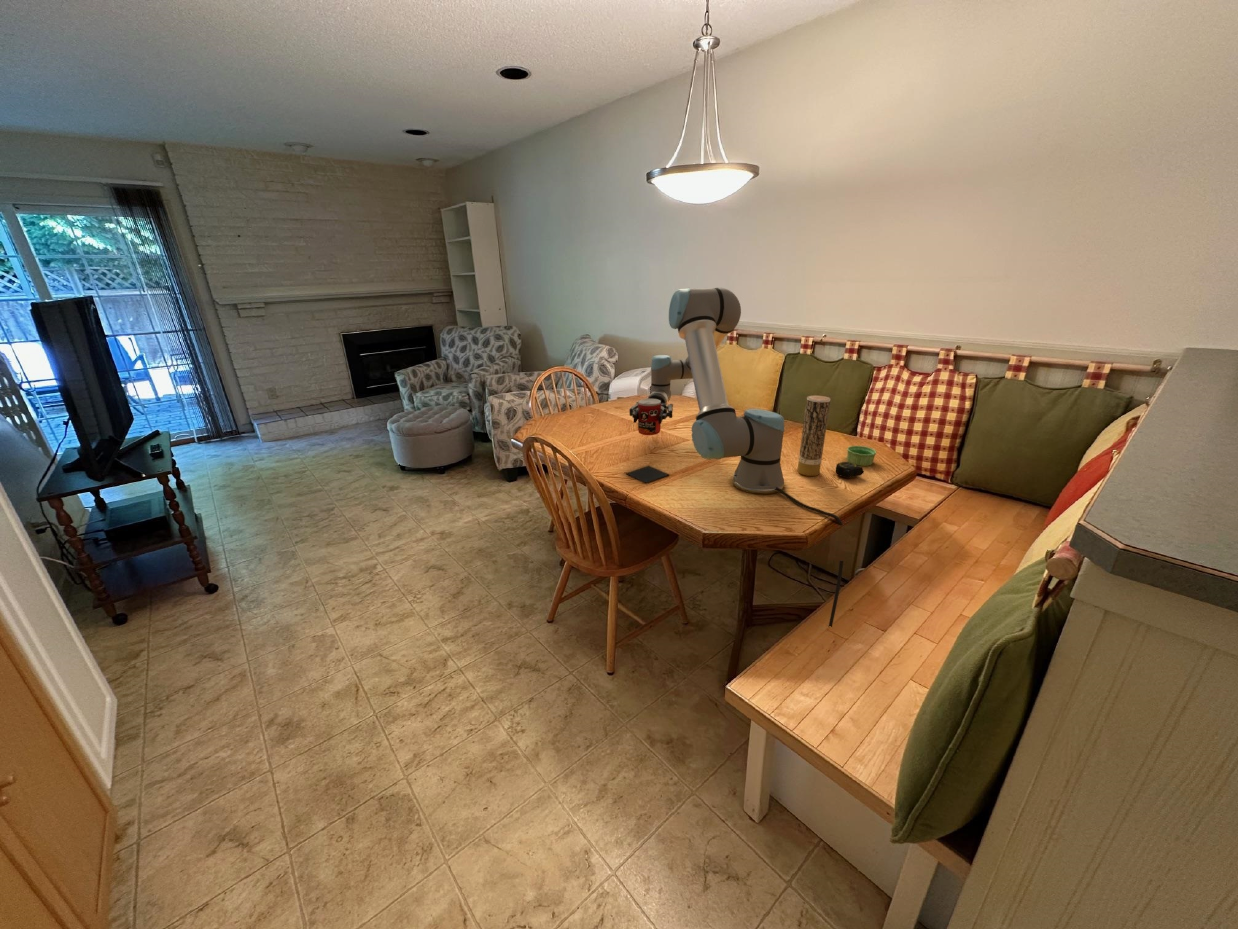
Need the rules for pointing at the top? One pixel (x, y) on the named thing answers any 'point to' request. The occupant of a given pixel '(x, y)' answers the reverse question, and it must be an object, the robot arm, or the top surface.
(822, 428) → the paper tube
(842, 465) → the tape measure
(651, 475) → the coaster
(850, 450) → the ramekin
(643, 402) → the canned food
